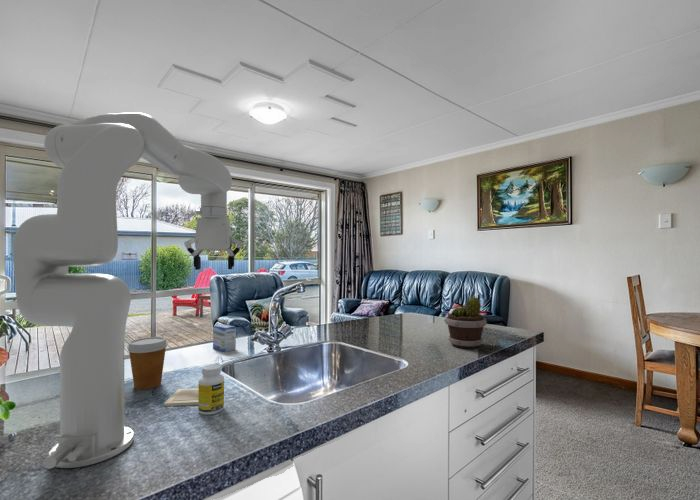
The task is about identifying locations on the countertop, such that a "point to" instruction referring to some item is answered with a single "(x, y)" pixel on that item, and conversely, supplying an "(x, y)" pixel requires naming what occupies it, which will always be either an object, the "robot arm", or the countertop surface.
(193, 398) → the coaster
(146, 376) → the disposable coffee cup
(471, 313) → the flowerpot
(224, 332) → the medicine box
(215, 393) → the supplement bottle
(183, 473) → the countertop surface
